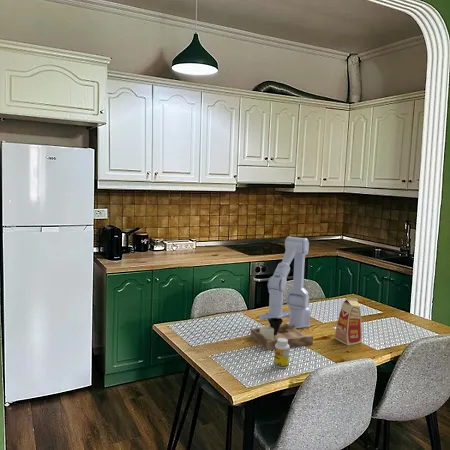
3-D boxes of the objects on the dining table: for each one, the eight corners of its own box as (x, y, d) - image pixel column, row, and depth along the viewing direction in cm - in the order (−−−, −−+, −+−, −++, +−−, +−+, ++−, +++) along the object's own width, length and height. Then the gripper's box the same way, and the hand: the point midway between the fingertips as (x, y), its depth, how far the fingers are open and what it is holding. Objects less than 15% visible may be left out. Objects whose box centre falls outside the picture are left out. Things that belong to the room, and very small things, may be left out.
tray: (293, 331, 203) (293, 324, 203) (312, 344, 189) (313, 336, 188) (250, 336, 195) (250, 329, 195) (267, 350, 180) (267, 342, 180)
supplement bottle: (271, 363, 167) (272, 338, 166) (283, 361, 169) (284, 336, 168) (278, 369, 162) (280, 343, 161) (291, 367, 164) (292, 341, 163)
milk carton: (347, 345, 188) (350, 300, 186) (333, 338, 197) (336, 294, 194) (363, 342, 193) (366, 298, 191) (348, 335, 201) (351, 293, 199)
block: (268, 335, 192) (268, 325, 191) (273, 338, 188) (273, 328, 187) (259, 336, 190) (259, 326, 190) (264, 340, 186) (264, 329, 186)
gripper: (265, 308, 182) (263, 339, 184) (295, 305, 188) (293, 335, 189) (257, 303, 189) (256, 333, 190) (286, 300, 194) (285, 330, 196)
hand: (274, 334), depth 190 cm, fingers closed
